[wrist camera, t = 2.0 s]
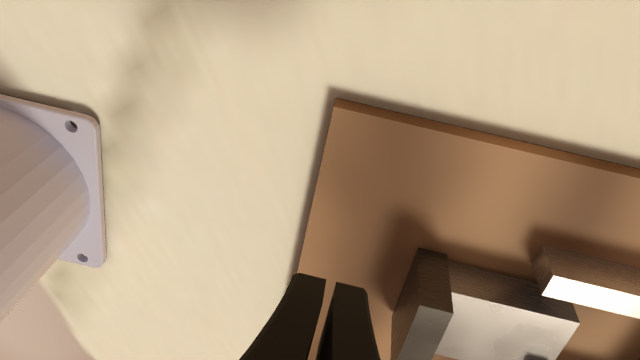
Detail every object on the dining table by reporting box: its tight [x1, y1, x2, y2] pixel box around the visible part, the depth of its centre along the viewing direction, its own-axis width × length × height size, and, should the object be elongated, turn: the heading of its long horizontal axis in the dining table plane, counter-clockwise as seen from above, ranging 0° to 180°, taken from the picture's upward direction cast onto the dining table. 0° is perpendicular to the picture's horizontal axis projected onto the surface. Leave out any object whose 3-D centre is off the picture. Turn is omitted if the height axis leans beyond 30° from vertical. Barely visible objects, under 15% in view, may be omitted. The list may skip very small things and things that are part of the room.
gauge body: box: [532, 244, 640, 360], centre depth 20 cm, size 8×7×3 cm
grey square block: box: [390, 248, 580, 360], centre depth 20 cm, size 6×6×3 cm
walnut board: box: [297, 98, 640, 360], centre depth 22 cm, size 18×14×1 cm
